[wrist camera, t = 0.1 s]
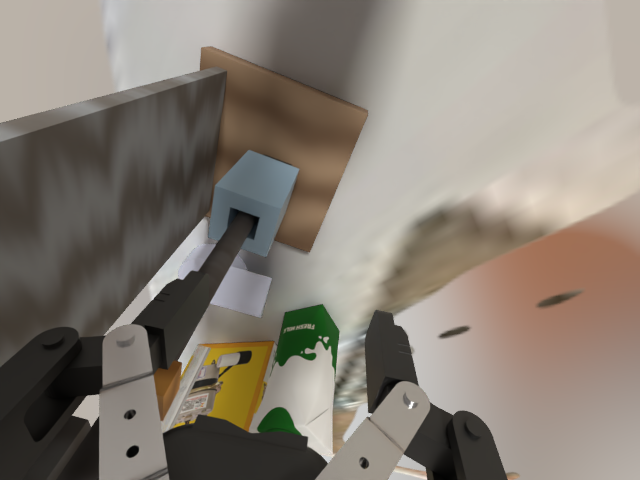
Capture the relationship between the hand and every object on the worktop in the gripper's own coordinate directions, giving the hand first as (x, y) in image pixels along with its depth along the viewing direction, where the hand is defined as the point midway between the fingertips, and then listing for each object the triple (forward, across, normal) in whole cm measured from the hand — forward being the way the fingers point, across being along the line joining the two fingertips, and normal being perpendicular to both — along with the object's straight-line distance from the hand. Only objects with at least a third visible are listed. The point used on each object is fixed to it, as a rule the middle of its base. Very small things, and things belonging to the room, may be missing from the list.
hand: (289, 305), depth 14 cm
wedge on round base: (+25, +11, +18) cm, 33 cm away
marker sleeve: (+18, +6, +1) cm, 19 cm away
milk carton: (+26, -3, +26) cm, 37 cm away
